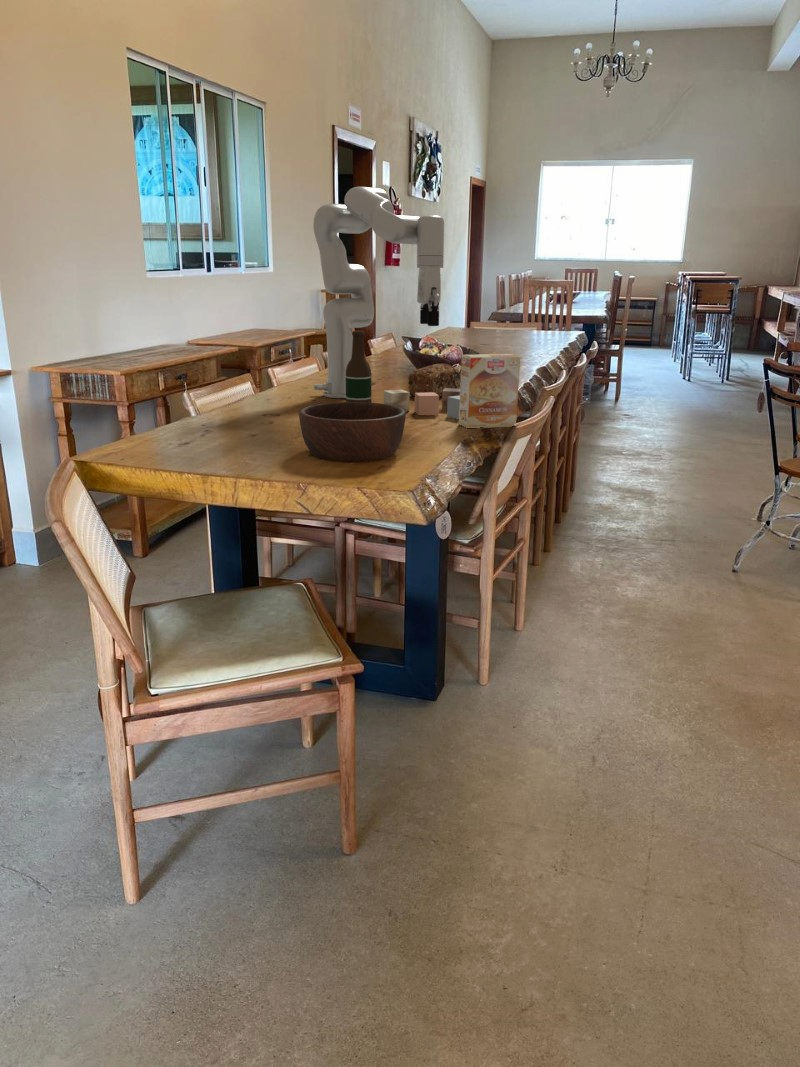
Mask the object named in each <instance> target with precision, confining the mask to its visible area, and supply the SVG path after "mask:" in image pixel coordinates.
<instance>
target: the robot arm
mask: <svg viewBox="0 0 800 1067" xmlns="http://www.w3.org/2000/svg"><path fill="white" fill-rule="evenodd" d="M394 211H395V209H394V205H393V203H392V202H391V198H390V195H389V194H388V193H387V192H386V191H385V190H384V189H382V188H380V187H371V186H370V187H369V186H368V187H367V186H355V187H352V188H350V189H349V190H347V192H346V194H345V196H344V204H343V203H328V204H323V205H321V206H320V207H319V208H318V209H317V210H316V212H315V215H314V217H313V222H312V223H313V228H312V229H313V232H314V237H315V241H316V244H317V248H318V251H319V257H320V266H321V272H322V280H323V285H324V288H325V290H326V291H327V293H329V294H332V295H350V296H351V297H340V298H339V297H337V298H333V299H330V300H328V301H327V302H326V303H325V305H324V307H323V312H322V314H323V319H324V325H325V332H326V349H327V350H326V353H327V354H326V355H327V357H326V358H327V360H326V361H327V380H326V381H325V382H324V383H322V384H321V383H317V384H316V383H314V384H313V390H314V391H323V396H324V397H326V398H330V399H331V398H333V399H346V368H347V365H348V363H349V361H350V360H351V357H352V344H353V335H352V332H353V331H352V330H351V329H356V328H357V329H359V328H366V327H369V326H370V325H371V324H372V322H373V321H374V317H375V305H374V299H373V289H372V283H371V277H370V274H369V272H368V270H367V268H365V267H364V266H363V265H361V264H358V263H357V264H356V263H349V261H348V258H347V249H346V246H345V245H344V243H343V241H342V240H341V238H340V237H339V236H338V234H340V233H341V234H358V235H359V234H363V233H365V232H367V231H368V230H370V228H371V229H372V231H373V233H374V234H375V235H376V236H378V237H379V238H380V239H382V240H385V241H387V242H389V243H391V244H398V245H416V268H417V269H418V268H419V269H418V277H417V295H416V296H417V297H416V299H417V300H416V302H417V303H418V304H420V307H419V309H420V310H419V314H420V315H419V320H420V321H419V323H420V324H421V325H427V326H428V327H439V325H440V303H441V291H442V290H441V288H442V287H441V286H442V284H441V283H442V281H441V279H442V278H441V276H442V275H441V269H444V260H445V258H444V249H445V248H444V246H445V245H444V244H445V241H444V240H445V220H444V218H443V216H440V215H422V216H415V215H414V216H413V215H397V214H394V213H395V212H394Z"/></svg>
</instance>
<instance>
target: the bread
mask: <svg viewBox="0 0 800 1067" xmlns="http://www.w3.org/2000/svg"><path fill="white" fill-rule="evenodd" d="M460 381H461V372H460V371H459V370H458V369H456V367H454V366H452V365H450V364H448V363H436V364H434V363H433V364H432V365H427V366H424V367H421V368H417V369H415V370H412V371H411V372H410V373H409V374H408V383H407V384H408V392H410V397H414V396H415V393H428V392H434V393H436V394H437V395H439V398H441V397H440V396H442V391H443V390H444V388H452V389H460V385H459V384H460Z"/></svg>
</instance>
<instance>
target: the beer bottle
mask: <svg viewBox="0 0 800 1067" xmlns="http://www.w3.org/2000/svg"><path fill="white" fill-rule="evenodd" d="M351 332H352V335H353V344H352V357H351V360H350V361H349V363H348V365H347V368H346V398H345V402H369V403H372V369H371V366H370V364H369V362H368V361H367V359H366V351H365V338H364V337H365V335H366V334H365V331H363V330H353V331H351Z"/></svg>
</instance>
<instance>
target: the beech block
mask: <svg viewBox="0 0 800 1067" xmlns="http://www.w3.org/2000/svg"><path fill="white" fill-rule="evenodd" d="M410 397H411V395H410V392H409V391H407V390H404V389H388V390H383V404H387V405H392V406H396V407H399V408H402V409H403V410H404V411H405V413H408V412H407V411H409V412H410V401H411V400H410Z"/></svg>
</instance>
